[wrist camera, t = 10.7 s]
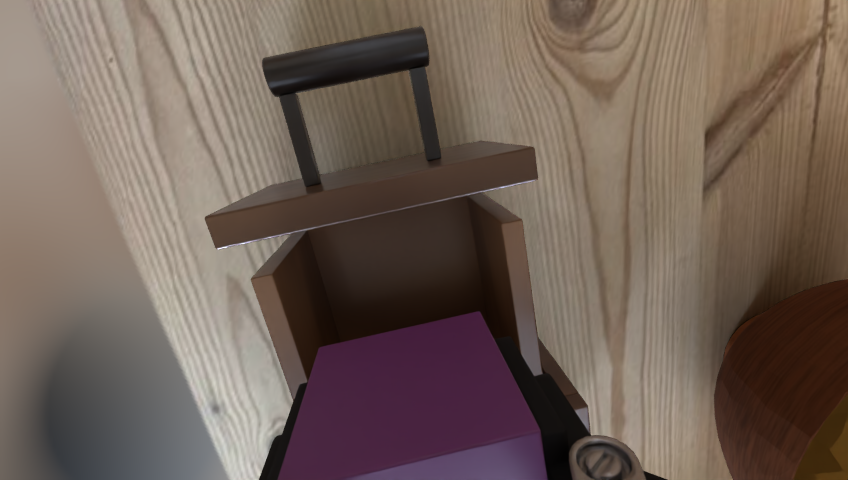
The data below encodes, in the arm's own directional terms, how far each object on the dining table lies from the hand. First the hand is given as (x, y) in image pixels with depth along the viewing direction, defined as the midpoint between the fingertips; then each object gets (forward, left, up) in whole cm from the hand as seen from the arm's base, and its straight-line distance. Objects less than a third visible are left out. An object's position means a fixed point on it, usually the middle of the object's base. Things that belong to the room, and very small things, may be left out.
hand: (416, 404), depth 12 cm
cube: (0, 0, 0) cm, 0 cm away
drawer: (-2, +1, -11) cm, 11 cm away
